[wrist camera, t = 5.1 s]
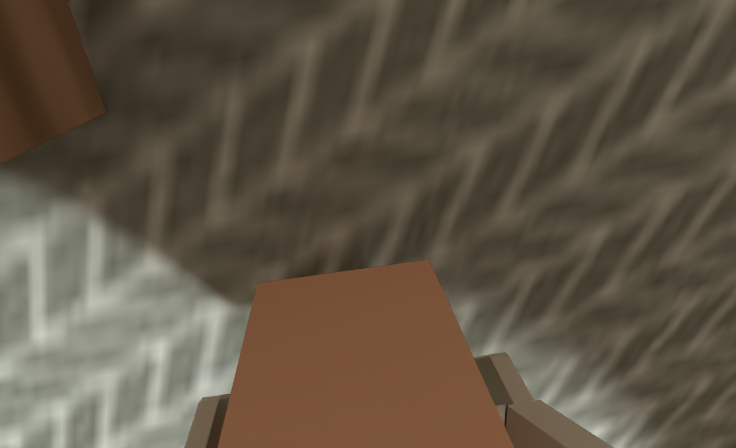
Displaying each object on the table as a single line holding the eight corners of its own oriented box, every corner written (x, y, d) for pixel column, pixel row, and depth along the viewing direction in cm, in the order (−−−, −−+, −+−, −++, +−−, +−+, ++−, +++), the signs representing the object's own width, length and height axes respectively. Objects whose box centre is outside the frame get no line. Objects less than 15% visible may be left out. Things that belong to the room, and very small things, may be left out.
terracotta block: (429, 259, 12) (516, 450, 7) (433, 381, 14) (500, 598, 9) (257, 282, 12) (204, 500, 6) (289, 404, 14) (269, 640, 9)
